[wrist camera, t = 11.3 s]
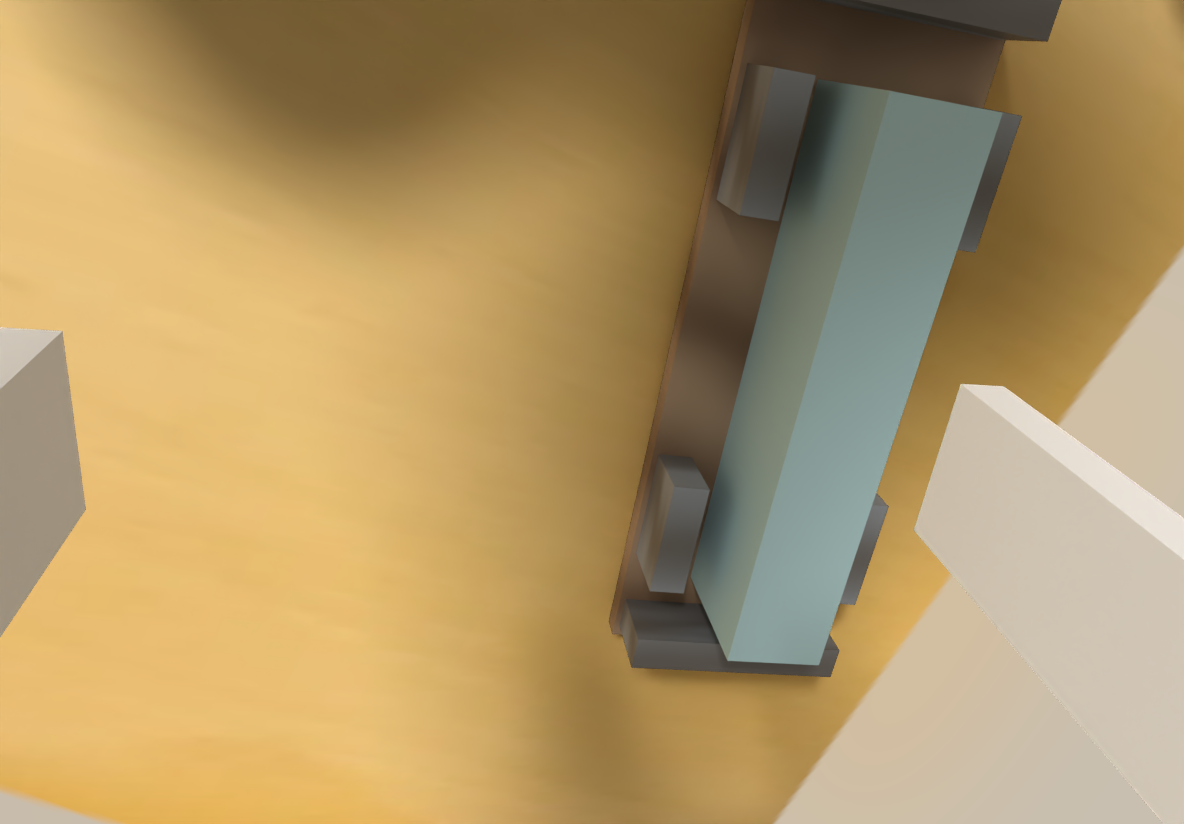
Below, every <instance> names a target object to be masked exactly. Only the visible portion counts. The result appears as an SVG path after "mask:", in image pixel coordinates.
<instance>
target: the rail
mask: <svg viewBox="0 0 1184 824" xmlns="http://www.w3.org/2000/svg"><path fill="white" fill-rule="evenodd" d="M1002 114H1003V113H1001V112H996V111H991V110H986V109H981V108H975V107H970V106H965V105H960V104H955V103H950V102H945V101H940V100H934V99H929V98H924V97H919V96H914V95H909V94H904V93H899V92H894V91H888V90H882V89H876V88H870V87H863V86H857V85H851V84H845V83H839V82H833V81H827V80H821V79H818V81H817V85H816V89H815V93H814V97H813V100H812V104H811V108H810V112H809V116H808V120H807V124H806V128H805V132H804V136H803V140H802V143H801V147H800V151H799V155H798V159H797V163H796V167H795V171H794V175H793V179H792V183H791V186H790V190H789V194H788V198H787V202H786V206H785V210H784V214H783V218H782V222H781V226H780V229H779V233H778V237H777V241H776V245H775V249H774V253H773V257H772V261H771V265H770V269H769V272H768V276H767V280H766V284H765V288H764V292H763V296H762V300H761V304H760V308H759V312H758V315H757V319H756V323H755V327H754V331H753V335H752V339H751V343H750V347H749V351H748V355H747V358H746V362H745V366H744V370H743V374H742V378H741V382H740V386H739V390H738V394H737V398H736V401H735V405H734V409H733V413H732V417H731V421H730V425H729V429H728V433H727V437H726V441H725V444H724V448H723V452H722V456H721V460H720V464H719V468H718V472H717V476H716V480H715V484H714V487H713V491H712V495H711V499H710V503H709V507H708V511H707V515H706V519H705V523H704V527H703V530H702V534H701V538H700V542H699V546H698V550H697V554H696V558H695V562H694V566H693V570H692V573H691V579H692V581H693V584H694V586H695V588H696V590H697V593H698V595H699V597H700V599H701V602H702V604H703V606H704V609H705V611H706V613H707V615H708V618H709V620H710V622H711V624H712V627H713V629H714V631H715V634H716V636H717V638H718V640H719V643H720V645H721V647H722V649H723V652H724V654H725V656H726V659H727V661H743V662H763V663H783V664H803V665H819V663H820V660H821V657H822V654H823V651H824V648H825V645H826V642H827V639H828V636H829V633H830V630H831V627H832V624H833V621H834V618H835V615H836V612H837V609H838V606H839V603H840V600H841V597H842V594H843V591H844V588H845V585H846V582H847V579H848V576H849V573H850V570H851V567H852V564H853V561H854V558H855V555H856V552H857V549H858V546H859V543H860V540H861V537H862V534H863V531H864V528H865V525H866V522H867V519H868V516H869V513H870V510H871V507H872V504H873V501H874V498H875V495H876V492H877V489H878V486H879V483H880V480H881V477H882V474H883V471H884V468H885V465H886V462H887V459H888V456H889V453H890V450H891V447H892V444H893V441H894V438H895V435H896V432H897V429H898V426H899V423H900V420H901V417H902V414H903V411H904V408H905V405H906V402H907V399H908V396H909V393H910V390H911V387H912V384H913V381H914V378H915V375H916V372H917V369H918V366H919V363H920V360H921V357H922V354H923V351H924V348H925V345H926V342H927V339H928V336H929V333H930V330H931V327H932V324H933V321H934V318H935V315H936V312H937V309H938V306H939V303H940V300H941V297H942V294H943V291H944V288H945V285H946V282H947V279H948V276H949V273H950V270H951V267H952V264H953V261H954V258H955V255H956V252H957V249H958V246H959V243H960V240H961V237H962V234H963V231H964V228H965V225H966V222H967V219H968V216H969V213H970V210H971V207H972V204H973V201H974V198H975V195H976V192H977V189H978V186H979V183H980V180H981V177H982V174H983V171H984V168H985V165H986V162H987V159H988V156H989V153H990V150H991V147H992V144H993V141H994V138H995V135H996V132H997V129H998V126H999V123H1000V120H1001V117H1002Z"/></svg>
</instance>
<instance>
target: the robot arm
mask: <svg viewBox="0 0 1184 824" xmlns="http://www.w3.org/2000/svg"><path fill="white" fill-rule="evenodd" d="M85 510H86V507H85V500H84V492H83V485H82V477H81V469H80V462H79V454H78V446H77V439H76V431H75V424H74V416H73V408H72V401H71V393H70V385H69V378H68V370H67V363H66V355H65V347H64V340H63V332H62V331H52V330H35V329H18V328H1V327H0V637H1V635H2V634H3V632H4V631H5V629H6V628H7V627H8V625H9V624H10V622H11V621H12V619H13V618H14V616H15V615H16V613H17V612H18V610H19V609H20V607H21V606H22V604H23V603H24V601H25V600H26V598H27V597H28V595H29V594H30V592H31V591H32V589H33V588H34V586H35V585H36V583H37V582H38V580H39V579H40V577H41V576H42V574H43V573H44V571H45V570H46V568H47V567H48V565H49V564H50V562H51V561H52V559H53V558H54V556H55V555H56V553H57V552H58V550H59V549H60V547H61V546H62V544H63V543H64V541H65V540H66V538H67V537H68V535H69V534H70V532H71V531H72V529H73V528H74V526H75V525H76V523H77V522H78V520H79V519H80V517H81V516H82V514H83V513H84V511H85ZM914 531H915V532H916V533H917V535H918V536H919V537H920V538H921V539H922V540H923V542H924V543H925V544H926V545H927V546H928V548H929V549H930V550H931V551H932V552H933V553H934V555H935V556H936V557H937V558H938V559H939V560H940V562H941V563H942V564H943V565H944V566H945V568H946V569H947V570H948V571H949V572H950V573H951V575H952V576H953V577H954V578H955V579H956V580H957V582H958V583H959V584H960V585H961V586H962V588H963V589H964V590H965V591H966V592H967V593H968V595H969V596H970V597H971V598H972V599H973V600H974V602H975V603H976V604H977V605H978V606H979V608H980V609H981V610H982V611H983V612H984V613H985V615H986V616H987V617H988V618H989V619H990V621H991V622H992V623H993V624H994V625H995V626H996V628H997V629H998V630H999V631H1000V632H1001V633H1002V635H1003V636H1004V637H1005V638H1006V639H1007V641H1008V642H1009V643H1010V644H1011V645H1012V646H1013V648H1014V649H1015V650H1016V651H1017V652H1018V653H1019V655H1020V656H1021V657H1022V658H1023V659H1024V660H1025V662H1026V663H1027V664H1028V665H1029V666H1030V668H1031V669H1032V670H1033V671H1034V672H1035V674H1036V675H1037V676H1038V677H1039V678H1040V679H1041V681H1042V682H1043V683H1044V684H1045V685H1046V686H1047V688H1048V689H1049V690H1050V691H1051V692H1052V694H1053V695H1054V696H1055V697H1056V698H1057V699H1058V701H1059V702H1060V703H1061V704H1062V705H1063V706H1064V708H1065V709H1066V710H1067V711H1068V712H1069V713H1070V715H1071V716H1072V717H1073V718H1074V719H1075V721H1076V722H1077V723H1078V724H1079V725H1080V726H1081V728H1082V729H1083V730H1084V731H1085V732H1086V734H1087V735H1088V736H1089V737H1090V738H1091V739H1092V740H1093V742H1094V743H1095V744H1096V745H1097V747H1098V748H1099V749H1100V750H1101V751H1102V752H1103V754H1104V755H1105V756H1106V757H1107V758H1108V759H1109V761H1111V763H1112V764H1113V765H1114V767H1115V768H1116V769H1117V770H1118V771H1119V772H1120V774H1121V775H1122V776H1123V777H1124V778H1125V779H1126V781H1127V782H1128V783H1129V784H1130V785H1131V787H1132V788H1133V789H1134V790H1135V791H1136V792H1137V793H1138V795H1139V796H1140V797H1141V798H1142V799H1143V801H1144V802H1145V803H1146V804H1147V805H1148V807H1149V808H1150V809H1151V810H1152V811H1153V812H1154V814H1155V815H1156V816H1157V817H1158V818H1159V819H1160V821H1161V822H1162V823H1163V824H1184V518H1183V517H1182V516H1180V515H1179V514H1177V513H1176V512H1175V511H1173V510H1172V509H1170V508H1169V507H1168V506H1166V505H1165V504H1164V503H1162V502H1161V501H1160V500H1158V499H1157V498H1156V497H1154V496H1153V495H1152V494H1150V493H1149V492H1147V491H1146V490H1145V489H1143V488H1142V487H1141V486H1139V485H1138V484H1136V483H1135V482H1134V481H1132V480H1131V479H1130V478H1128V477H1127V476H1125V475H1124V474H1123V473H1121V472H1120V471H1118V470H1117V469H1116V468H1115V467H1113V466H1112V465H1111V464H1109V463H1108V462H1106V461H1105V460H1104V459H1102V458H1101V457H1100V456H1098V455H1097V454H1095V453H1094V452H1093V451H1091V450H1090V449H1089V448H1087V447H1086V446H1085V445H1083V444H1082V443H1080V442H1079V441H1078V440H1076V439H1075V438H1074V437H1072V436H1071V435H1070V434H1068V433H1067V432H1065V431H1064V430H1063V429H1061V428H1060V427H1059V426H1057V425H1056V424H1055V423H1053V422H1052V421H1050V420H1049V419H1048V418H1046V417H1045V416H1044V415H1042V414H1041V413H1040V412H1038V411H1037V410H1035V409H1034V408H1033V407H1031V406H1030V405H1029V404H1027V403H1026V402H1024V401H1023V400H1022V399H1020V398H1019V397H1018V396H1016V395H1015V394H1014V393H1012V392H1011V391H1009V390H1008V389H1007V388H1005V387H1004V386H989V385H972V384H961V385H960V388H959V391H958V394H957V397H956V400H955V403H954V407H953V410H952V413H951V416H950V419H949V422H948V425H947V428H946V431H945V435H944V438H943V441H942V444H941V447H940V450H939V453H938V456H937V460H936V463H935V466H934V469H933V472H932V475H931V478H930V481H929V484H928V488H927V491H926V494H925V497H924V500H923V503H922V506H921V509H920V512H919V516H918V519H917V522H916V525H915V528H914Z"/></svg>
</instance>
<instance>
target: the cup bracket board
mask: <svg viewBox="0 0 1184 824" xmlns="http://www.w3.org/2000/svg"><path fill="white" fill-rule="evenodd" d="M1061 1H1062V0H746V5H745V10H744V14H743V19H742V23H741V28H740V32H739V37H738V41H737V46H736V50H735V55H734V59H733V64H732V68H731V73H730V77H729V82H728V86H727V91H726V95H725V100H724V104H723V109H722V113H721V118H720V122H719V127H718V131H717V136H716V140H715V145H714V149H713V154H712V158H711V163H710V167H709V172H708V176H707V181H706V185H705V190H704V194H703V199H702V203H701V208H700V213H699V217H698V222H697V226H696V231H695V235H694V240H693V244H692V249H691V253H690V258H689V262H688V267H687V271H686V276H685V280H684V285H683V289H682V294H681V298H680V303H679V307H678V312H677V316H676V321H675V325H674V330H673V334H672V339H671V343H670V348H669V352H668V357H667V361H666V366H665V370H664V375H663V379H662V384H661V388H660V393H659V397H658V402H657V406H656V411H655V416H654V420H653V425H652V429H651V434H650V438H649V443H648V447H647V452H646V456H645V461H644V465H643V470H642V474H641V479H640V483H639V488H638V492H637V497H636V501H635V506H634V510H633V515H632V519H631V524H630V528H629V533H628V537H627V542H626V546H625V551H624V555H623V560H622V564H621V569H620V573H619V578H618V582H617V587H616V591H615V596H614V600H613V605H612V609H611V614H610V619H609V623H610V627H611V631H612V634H619V635H622V636H623V639H624V643H625V646H626V650H627V653H628V657H629V660H630V664H631V667H632V668H652V669H673V670H694V671H715V672H735V673H756V674H777V675H798V676H819V677H831V674H832V671H833V668H834V665H835V662H836V659H837V656H838V653H839V649H838V647H837V646H836V644H835V643H834V641H833V639H832V638H831V636H830V635H829V636H828V639H827V642H826V645H825V648H824V651H823V654H822V657H821V660H820V663H819V665H803V664H783V663H763V662H743V661H727V659H726V656H725V654H724V652H723V649H722V647H721V645H720V643H719V640H718V638H717V636H716V634H715V631H714V629H713V627H712V624H711V622H710V620H709V618H708V615H707V613H706V611H705V609H704V606H703V604H702V602H701V599H700V597H699V595H698V593H697V590H696V588H695V586H694V584H693V581H692V579H691V573H692V570H693V566H694V562H695V558H696V554H697V550H698V546H699V542H700V538H701V534H702V530H703V527H704V523H705V519H706V515H707V511H708V507H709V503H710V499H711V495H712V491H713V487H714V484H715V480H716V476H717V472H718V468H719V464H720V460H721V456H722V452H723V448H724V444H725V441H726V437H727V433H728V429H729V425H730V421H731V417H732V413H733V409H734V405H735V401H736V398H737V394H738V390H739V386H740V382H741V378H742V374H743V370H744V366H745V362H746V358H747V355H748V351H749V347H750V343H751V339H752V335H753V331H754V327H755V323H756V319H757V315H758V312H759V308H760V304H761V300H762V296H763V292H764V288H765V284H766V280H767V276H768V272H769V269H770V265H771V261H772V257H773V253H774V249H775V245H776V241H777V237H778V233H779V229H780V226H781V222H782V218H783V214H784V210H785V206H786V202H787V198H788V194H789V190H790V186H791V183H792V179H793V175H794V171H795V167H796V163H797V159H798V155H799V151H800V147H801V143H802V140H803V136H804V132H805V128H806V124H807V120H808V116H809V112H810V108H811V104H812V100H813V97H814V93H815V89H816V85H817V81H818V79H821V80H827V81H833V82H839V83H845V84H851V85H857V86H863V87H870V88H876V89H882V90H888V91H894V92H899V93H904V94H909V95H914V96H919V97H924V98H929V99H934V100H940V101H945V102H950V103H955V104H960V105H965V106H970V107H975V108H981V109H984V108H983V107H984V104H985V101H986V98H987V95H988V92H989V89H990V86H991V83H992V80H993V77H994V74H995V70H996V67H997V64H998V61H999V58H1000V55H1001V52H1002V49H1003V46H1004V43H1005V40H1020V41H1046V42H1048V39H1049V36H1050V33H1051V30H1052V27H1053V24H1054V21H1055V18H1056V15H1057V12H1058V9H1059V6H1060V4H1061ZM986 110H989V109H986ZM991 111H994V110H991ZM996 112H999V111H996ZM1001 113H1003V114H1002V117H1001V120H1000V123H999V126H998V129H997V132H996V135H995V138H994V141H993V144H992V147H991V150H990V153H989V156H988V159H987V162H986V165H985V168H984V171H983V174H982V177H981V180H980V183H979V186H978V189H977V192H976V195H975V198H974V201H973V204H972V207H971V210H970V213H969V216H968V219H967V222H966V225H965V228H964V231H963V234H962V237H961V240H960V243H959V246H958V249H957V250H962V251H968V252H976V249H977V246H978V244H979V241H980V238H981V235H982V232H983V229H984V226H985V223H986V220H987V217H988V214H989V211H990V208H991V205H992V203H993V200H994V197H995V194H996V191H997V188H998V185H999V182H1000V179H1001V176H1002V173H1003V170H1004V167H1005V165H1006V162H1007V159H1008V156H1009V153H1010V150H1011V147H1012V144H1013V141H1014V138H1015V135H1016V132H1017V129H1018V126H1019V124H1020V121H1021V118H1022V116H1020V115H1015V114H1009V113H1004V112H1001ZM888 507H889V506H888V505H887V504H886V503H885V502H884V501H883V500H882V499H881V498H880V496H879V495H878V494H877V493H876V495H875V498H874V501H873V504H872V507H871V510H870V513H869V516H868V519H867V522H866V525H865V528H864V531H863V534H862V537H861V540H860V543H859V546H858V549H857V552H856V555H855V558H854V561H853V564H852V567H851V570H850V573H849V576H848V579H847V582H846V585H845V588H844V591H843V594H842V597H841V600H840V603H839V604H851V605H855V604H856V601H857V598H858V595H859V592H860V589H861V586H862V583H863V580H864V577H865V574H866V571H867V568H868V565H869V563H870V560H871V557H872V554H873V551H874V548H875V545H876V542H877V539H878V536H879V533H880V530H881V527H882V524H883V522H884V519H885V516H886V513H887V510H888Z"/></svg>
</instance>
